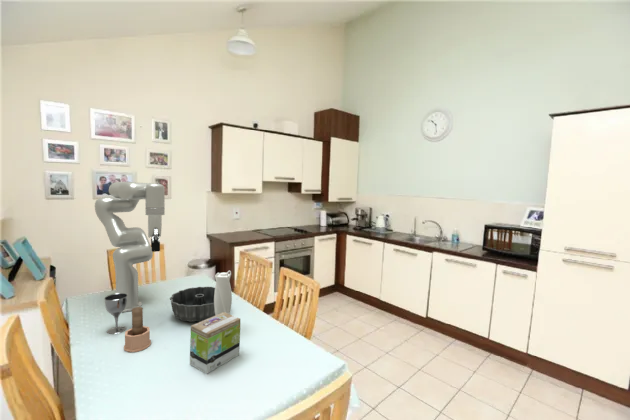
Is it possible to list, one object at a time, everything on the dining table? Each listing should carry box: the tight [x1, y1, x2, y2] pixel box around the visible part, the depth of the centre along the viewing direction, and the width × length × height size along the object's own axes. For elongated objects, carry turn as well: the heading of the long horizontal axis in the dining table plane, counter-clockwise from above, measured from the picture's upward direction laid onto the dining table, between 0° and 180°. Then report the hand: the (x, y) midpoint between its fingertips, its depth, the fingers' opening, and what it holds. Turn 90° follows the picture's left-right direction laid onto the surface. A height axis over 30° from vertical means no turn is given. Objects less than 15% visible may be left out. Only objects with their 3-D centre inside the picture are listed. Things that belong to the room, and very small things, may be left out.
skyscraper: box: [214, 270, 233, 315], centre depth 127 cm, size 8×8×28 cm
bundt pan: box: [169, 286, 215, 323], centre depth 144 cm, size 26×26×10 cm
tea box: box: [189, 312, 241, 375], centre depth 108 cm, size 15×10×15 cm, turn 148°
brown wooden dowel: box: [131, 306, 144, 336], centre depth 115 cm, size 4×4×14 cm
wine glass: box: [104, 293, 127, 335], centre depth 126 cm, size 8×8×15 cm
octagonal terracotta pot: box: [123, 325, 152, 353], centre depth 115 cm, size 9×9×6 cm
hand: (155, 249), depth 132 cm, fingers open, 9 cm apart
